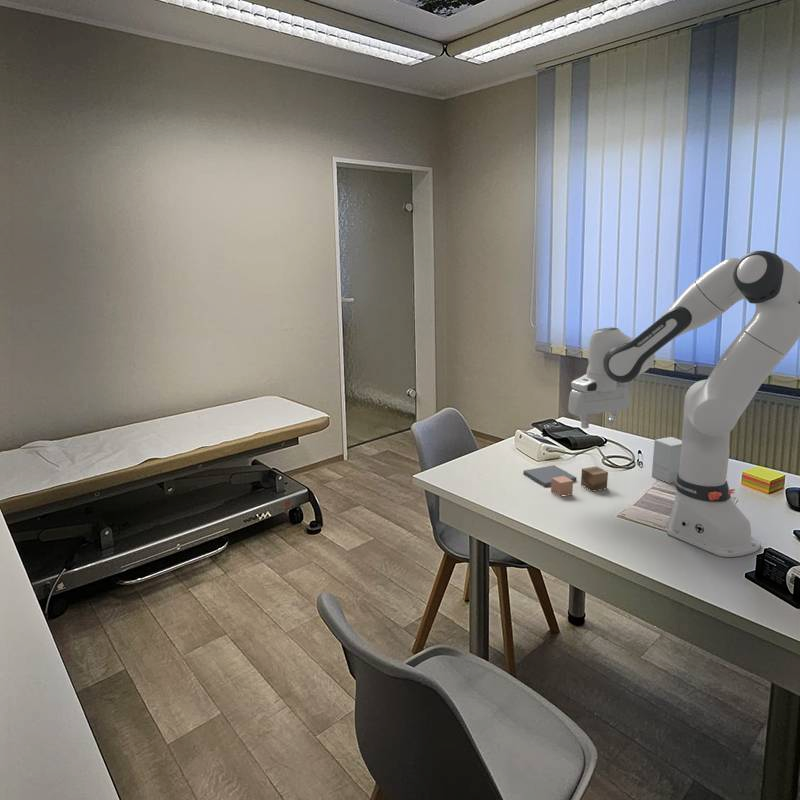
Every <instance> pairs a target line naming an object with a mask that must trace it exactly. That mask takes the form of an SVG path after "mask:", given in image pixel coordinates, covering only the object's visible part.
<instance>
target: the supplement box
mask: <svg viewBox="0 0 800 800" xmlns="http://www.w3.org/2000/svg"><path fill="white" fill-rule="evenodd" d="M653 441H654V444H653V453H652V454H653V455H652V456H653V457H652V465H651V466H652V467H651V469H652V470H651V477H652V476H653V477H652V478H655V479H657V480H659V479H660V481H661V480H662V482H664V481H665V482H664V483H666V482H667V483H666V484H668V483H669V484H672V483H671V482H674V483H676V479H677V475H678V474H679V468H680V458H681V449H682V439H678V438H676V437H673V436H669V437H668V436H667V437H663V438H657V439H654V440H653Z"/></svg>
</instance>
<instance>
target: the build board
mask: <svg viewBox="0 0 800 800" xmlns="http://www.w3.org/2000/svg"><path fill="white" fill-rule="evenodd" d="M523 475H525V476H526V477H528V478H529V479H531V480H533V481H535V482H536V483H537V482H538V483H537V484H539V485H541V486H542V485H543V487H544V488H545V486H547V487H551V486H550V485H551V481H552V478H555V477H560V476H565V477H567V478H569V479H571V480H572V481H573V482H577V476H575V475H573V474H572V473H569V472H567V471H565V470H563V469H562V468H560V467H558V466H556V465H554V464H553V465H548V466H543V467H541V466H540V467H537V468H531V469H525V470H523Z"/></svg>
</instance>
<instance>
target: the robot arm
mask: <svg viewBox="0 0 800 800" xmlns="http://www.w3.org/2000/svg"><path fill="white" fill-rule="evenodd" d="M744 299H745V300H747V301H748V304H749V303H750V304H754V306H755V312H754V314H753V316H752V318H751V319H750V321H748V322H747V324H746V325H745V326H744V328H743V329H741V331H740V332H739V333H738V334H737V336H736V337H735V338H734V340H733V341H732V342H731V344H730V345H729V346H728V347H727V348H726V349H725V351H724V352H723V353H722V355H721V356H720V357H719V359H718V361H717V363H716V365H715V366H714V368H713V370H712V371H711V373H710V374H709V376H708V377H707V379H702V380H699V381H695V383H693V384H692V385H691V386H690V387H689V388H688V389H687V391H686V393H685V396H684V402H683V403H684V405H683V417H682V431H681V433H682V434H681V440H682V449H681V458H680V468H679V474H678V475H677V479H676V482H675V489H676V493H675V497H674V502H673V506H672V509H671V512H670V515H669V517H668V519H667V521H666V525H667V532H666V534H667V535H668V536H671V537H673V538H676V539H678V540H681V541H683V542H686V543H688V544H690V545H693V546H694V547H696V548H700V549H701V550H704V551H707V552H708V553H711V554H714V555H715V556H719V557H725V558H732V557H733V558H734V557H741V556H746V555H750V554H753V553H755V552H757V551H759V550H760V548H761V541H759V540H758V539H756V538H754V537H753V536H752V526H751V522H750V520H749V519H748V518H747V517H746V515H745V514H744V513H743V512H742V511H741V510H740V508H739V507H738V506H737V504H736V503H735V502H734V501H733V500H732V498H731V497H732V496H731V494H735V493H736V492H735V491H736V488H732V489H730V487H729V483H728V481H727V476H728V468H729V467H728V466H729V459H730V438H731V437H730V435H731V434H730V432H732V431H733V430H734V428H735V426H736V424H737V422H738V421H739V419H740V417H741V416H742V415H743V414H744V412H745V410H746V409H747V408H748V406H749V404H750V403H751V401H752V400H753V398H754V397H755V395H756V393H757V391H758V390H759V389H760V387H761V386H762V384H763V383H764V381H765V380H766V379H767V378H768V377H769V375H770V374H771V373H772V372H773V371H774V370H775V369H776V367H777V366H778V365H779V364H780V363H781V361H783V359H784V358H785V357H786V356H787V355H788V353H789V352H790V351H791V350H792V348H793V347H794V346H795V344H796V343H797V341H798V340H799V338H800V271H799V269H797V268H796V267H795V266H794V265H793V264H792V263H791V262H790V261H788V260H786V259H784V258H783V257H780V256H779V255H777V254H776V253H774V252H770V251H767V250H756V251H755V250H754V251H751V252H748V253H747V254H744V256H742V257H741V258H737V257H729V258H727V259H726V258H725V259H724V260H723V261H720V262H719V263H718V264H716V265H714V266H713V267H711V268H710V269H708V270H707V271H706V272H705V273H703V274H702V275H700V276H699V277H698V278H697V279H696V280H694V281H693V282H692V283H691V284H690V285H689V286H688V287H687V288H686V289H684V291H683V292H682V293H681V294H680V295H679V296H678V297H677V298H676V299H675V301H674V302H673V303H672V304H671V305H670V306H669V308H668V309H667V310H666V311H665V312H664V313H663V314H662V315H661V316H660V317H659V318H658V319H657V320H656V321H655V322H653V323H652V324H651V325H650V326H648V327H647V328H646V329H645V330H643V331H642V333H640V334H638V336H636V337H635V338H632V337H630V336H628V335H626V334H625V333H624V332H622V331H621V329H619V328H618V327H603V328H598V329H596V330H594V331H593V332H592V334H591V335H590V338H589V342H588V343H589V344H588V351H587V360H588V365H587V369H586V373H585V374H584V375H582V376H581V377H578V378H576V379H573V380H572V381H571V383H570V387H571V388H572V389H571V391H570V393H569V395H568V406H567V409H568V412H569V413H570V414H572V415H573V416H577V417H578V418H579V420H580V423H581V424H580V425H581V426H580V427H581V428H582V429H589V428H590V426H589V425H590V422H588V421H587V420H586V419H587V417H588V415H592V414H602V413H608V412H609V413H610V414H609V417H607V418H606V425H608V426H614V424H615V419H616V418H617V417H618V415H619V411H625V410H628V408H629V406H630V383H629V382H632V381H633V380H634V379H635V378H636V377H638V376H640V375H641V374H643V373H645V372H646V371H648V370H649V369H650V368H651V367H652V366H653V364H654V362H655V354H656V353H657V352H658V351H659V350H661V349H662V348H663V347H665V346H666V345H667V344H669V343H670V342H671V341H672V340H674V339H676V338H678V337H680V336H681V335H684V334H686V333H688V332H691V331H693V330H696V329H699V328H701V327H703V326H705V325H708V324H709V323H710V322H712V321H715V320H716V319H717V318H719V317H720V316H721V315H723V314H724V313H725V312H726V311H728V310H729V309H731V308H732V307H733V306H734V305H735V304H736V303H738V302H739V301H742V300H744Z"/></svg>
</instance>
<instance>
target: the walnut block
mask: <svg viewBox="0 0 800 800" xmlns="http://www.w3.org/2000/svg"><path fill="white" fill-rule="evenodd" d="M608 477H609V471H607V470H604V469H602V468H601V467H598V466H597V465H595V466H590V467H585V468H581V477H580V486H582V485H583V486H585V487H586V488H585V487H584V488H585V489H587V488H588V489H587V490H589V489H590V490H589V491H591V490H592V491H591V492H594V491H593V490H597V491H600V490H599V489H602V490H605V489H604V488H607V489H608ZM583 486H582V487H583Z"/></svg>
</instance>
